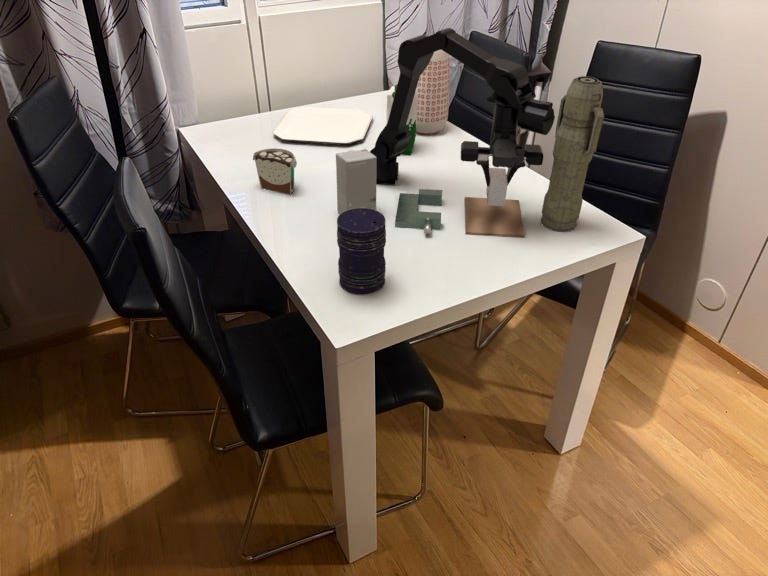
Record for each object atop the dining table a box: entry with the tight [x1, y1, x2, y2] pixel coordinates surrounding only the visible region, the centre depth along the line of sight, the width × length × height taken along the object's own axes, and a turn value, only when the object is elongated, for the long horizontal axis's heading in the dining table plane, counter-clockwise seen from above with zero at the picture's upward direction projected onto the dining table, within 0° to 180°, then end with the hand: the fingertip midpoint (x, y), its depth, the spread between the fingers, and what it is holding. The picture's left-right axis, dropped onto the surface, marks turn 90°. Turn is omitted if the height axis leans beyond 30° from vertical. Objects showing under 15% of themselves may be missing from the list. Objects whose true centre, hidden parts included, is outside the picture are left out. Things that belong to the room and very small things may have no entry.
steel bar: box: [485, 167, 509, 206], centre depth 147 cm, size 4×8×6 cm, turn 174°
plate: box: [272, 106, 374, 145], centre depth 199 cm, size 29×29×2 cm
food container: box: [252, 147, 298, 197], centre depth 162 cm, size 12×6×10 cm, turn 65°
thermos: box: [540, 75, 605, 233], centre depth 140 cm, size 9×12×35 cm
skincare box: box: [335, 148, 377, 215], centre depth 149 cm, size 8×7×16 cm
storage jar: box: [336, 208, 387, 296], centre depth 125 cm, size 10×10×15 cm
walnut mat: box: [464, 196, 526, 239], centre depth 152 cm, size 14×18×1 cm
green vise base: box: [394, 188, 443, 236], centre depth 151 cm, size 11×19×3 cm, turn 174°
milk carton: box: [385, 84, 418, 156], centre depth 180 cm, size 9×9×20 cm
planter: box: [416, 35, 451, 136], centre depth 191 cm, size 13×13×28 cm
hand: (496, 186), depth 147 cm, fingers closed on steel bar, 4 cm apart
